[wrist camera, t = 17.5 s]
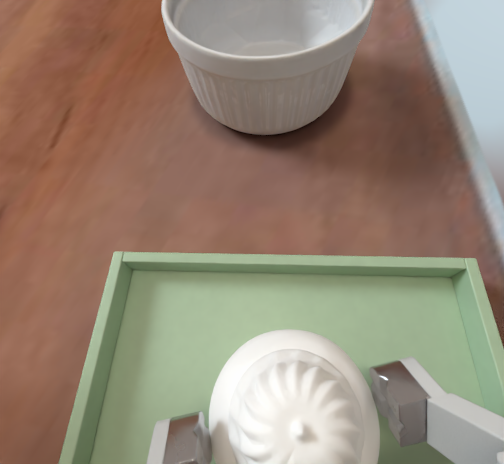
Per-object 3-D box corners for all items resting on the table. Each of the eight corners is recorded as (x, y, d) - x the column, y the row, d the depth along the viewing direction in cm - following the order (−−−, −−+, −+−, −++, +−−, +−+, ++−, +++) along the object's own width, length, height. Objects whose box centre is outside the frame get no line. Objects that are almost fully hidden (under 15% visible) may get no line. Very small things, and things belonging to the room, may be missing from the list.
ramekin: (172, 61, 26) (142, -35, 20) (307, 25, 28) (318, -77, 21) (212, 172, 21) (187, 86, 14) (379, 120, 22) (423, 20, 16)
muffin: (266, 314, 16) (265, 274, 9) (375, 386, 14) (461, 395, 8) (195, 428, 14) (133, 475, 7) (312, 528, 12) (362, 702, 6)
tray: (453, 270, 17) (476, 257, 15) (552, 642, 11) (613, 700, 9) (129, 263, 18) (113, 251, 16) (53, 592, 12) (12, 633, 10)
